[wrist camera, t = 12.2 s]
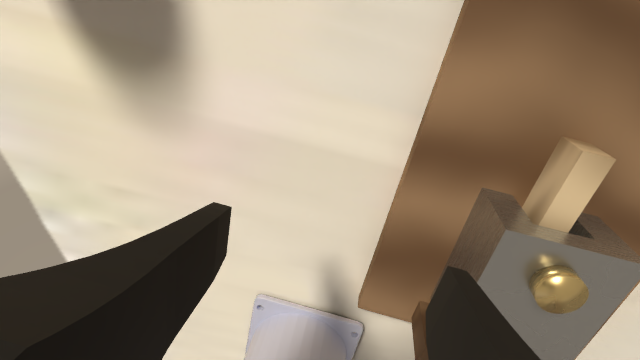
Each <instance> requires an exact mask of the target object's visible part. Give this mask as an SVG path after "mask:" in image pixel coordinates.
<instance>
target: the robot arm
mask: <svg viewBox="0 0 640 360" xmlns="http://www.w3.org/2000/svg"><path fill="white" fill-rule="evenodd" d="M231 208H232V207H230V206H226V205H222V204H219V203H215V202H213V203H211V204H209V205H207V206H205V207H203V208H201V209H199V210H197V211H195V212H193V213H192V214H190V215H188V216H186V217H184V218H182V219H180V220H178V221H176V222H173V223H171V224H169V225H167V226H165V227H163V228H161V229H159V230H156V231H154V232H152V233H150V234H147V235H145V236H143V237H140V238H138V239H136V240H134V241H131V242H129V243H126V244H123V245H121V246H118V247H115V248H112V249H109V250H107V251H104V252H101V253H98V254H95V255H92V256H88V257H85V258H81V259H78V260H74V261H70V262H67V263H63V264H60V265H56V266H53V267H48V268H44V269H41V270H36V271H31V272H27V273H23V274H18V275H12V276H7V277H3V278H0V360H162V358H163V356H164V355H165V353H166V351H167V349H168V348H169V346H170V345H171V343H172V341H173V340H174V338H175V337H176V335H177V334H178V332H179V331H180V329H181V328H182V327H183V325H184V324H185V322H186V321H187V319H188V318H189V316H190V315H191V313H192V312H193V310H194V309H195V307H196V306H197V305H198V303H199V302H200V300H201V299H202V297H203V296H204V294H205V293H206V291H207V290H208V288H209V287H210V285H211V284H212V282H213V281H214V279H215V277H216V275H217V273H218V271H219V269H220V267H221V265H222V263H223V261H224V259H225V257H226V253H227V244H228V235H229V226H230V217H231ZM259 305H261V306H263V307H261V306H259ZM353 332H356V333H353ZM362 333H363V324H362V323H361V322H358V321H355V320H352V319H348V318H345V317H341V316H337V315H334V314H330V313H327V312H323V311H320V310H316V309H313V308H309V307H306V306H302V305H299V304H295V303H292V302H288V301H284V300H281V299H277V298H274V297H270V296H267V295H263V294H259V295H257V296H256V298H255V301H254V307H253V312H252V318H251V324H250V330H249V336H248V342H247V347H246V353H245V358H244V360H352V358H353V356H354V353H355V351H356V348H357V345H358V343H359V340H360V338H361V335H362ZM426 344H427V351H428V358H429V360H541V359H540V358H539V357H538V356H537V355H536V354H535V353H534V351H533V350H532V349H531V348H530V347H529V346H528V345H527V344H526V342H525V341H524V340H523V339H522V338H521V337H520V336H519V334H518V333H517V332H516V331H515V330H514V328H513V327H512V326H511V325H510V324H509V322H508V321H507V320H506V319H505V318H504V316H503V315H502V314H501V313H500V311H499V310H498V309H497V308H496V306H495V305H494V304H493V303H492V301H491V300H490V299H489V297H488V296H487V295H486V294H485V292H484V291H483V290H482V289H481V287H480V286H479V285H478V284H477V282H476V281H475V280H474V279H473V277H472V276H471V275H470V274H469V273H468V272H467V271H465V270H462V269H458V268H454V267H451V266H447V268H446V270H445V272H444V274H443V276H442V279H441V281H440V283H439V285H438V287H437V289H436V291H435V293H434V295H433V297H432V299H431V301H430V303H429V305H428V307H427V309H426Z"/></svg>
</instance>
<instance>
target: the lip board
mask: <svg viewBox="0 0 640 360" xmlns="http://www.w3.org/2000/svg"><path fill="white" fill-rule="evenodd" d="M482 187H483V188H487V189H491V190H495V191H499V192H503V193H507V194H511V195H513V196H514V198H515V199H516V201H517V202H518V203H519V205H520V206H521V208H522V209H523V210H524V212H525V213H526V215H527V216H528V217H529V219H530V220H531V222H532V223H533V224H535V225H539V226H543V227H547V228H551V229H555V230H559V231H563V232H567V233H568V232H569V231H570V229H571V228H572V226H573V225H574V223H575V222H576V220H577V219H578V217H579V216H580V214H581V213H586V214H590V215H594V216H598V217H599V218H600V219H601V220H602V221H603V222H604V223H605V224H606V225H607V226H608V227H609V228H610V229H612V230H613V231H614V232H615V233H616V234H617V235H618V236H619V237H620V238H621V239H622V240H623V241H624V242H625V243H626V244H627V245H628V246H629V247H630V248H631V249H633V250H634V251H635V252H636V253H637V254H638V255H639V256H640V0H465V1H464V3H463V6H462V9H461V12H460V15H459V17H458V20H457V23H456V26H455V29H454V31H453V34H452V37H451V40H450V43H449V45H448V48H447V51H446V54H445V57H444V59H443V62H442V65H441V68H440V71H439V73H438V76H437V79H436V82H435V85H434V87H433V90H432V93H431V96H430V99H429V101H428V104H427V107H426V110H425V113H424V115H423V118H422V121H421V124H420V127H419V129H418V132H417V135H416V138H415V141H414V143H413V146H412V149H411V152H410V155H409V157H408V160H407V163H406V166H405V169H404V171H403V174H402V177H401V180H400V183H399V185H398V188H397V191H396V194H395V197H394V199H393V202H392V205H391V208H390V211H389V213H388V216H387V219H386V222H385V224H384V227H383V230H382V233H381V236H380V238H379V241H378V244H377V247H376V250H375V252H374V255H373V258H372V261H371V264H370V266H369V269H368V272H367V275H366V278H365V280H364V283H363V286H362V289H361V292H360V294H359V299H358V308H361V309H365V310H368V311H372V312H376V313H379V314H383V315H386V316H390V317H393V318H397V319H401V320H404V321H408V322H411V323H412V330H413V340H414V351H415V360H429V358H428V351H427V344H426V309H427V307H428V305H429V303H430V301H431V298H430V297H431V295H432V293H433V290H434V288H435V286H436V284H437V282H438V280H439V278H440V276H441V274H442V271H443V269H444V267H445V265H446V263H447V261H448V259H449V257H450V254H451V252H452V250H453V248H454V246H455V244H456V242H457V240H458V237H459V235H460V233H461V231H462V229H463V227H464V225H465V223H466V221H467V218H468V216H469V214H470V212H471V210H472V208H473V206H474V204H475V201H476V199H477V197H478V195H479V193H480V191H481V189H482ZM639 282H640V280H639V281H638V282H637V284H636V285H635V286H634V287H633V288H632V290H631V291H630V292H629V293H628V294H627V296H626V297H625V298H624V299H623V301H624V300H625V299H626V298H627V297H628V295H629V294H630V293H631V292H632V291H633V289H634V288H635V287H636V286H637V285H638V284H639ZM623 301H622V302H621V303H620V304H619V305H618V307H619V306H620V305H621V304H622V303H623ZM618 307H617V308H616V309H615V310H614V312H615V311H616V310H617V309H618ZM614 312H613V313H614ZM613 313H612V314H611V315H610V316H609V318H610V317H611V316H612V315H613ZM609 318H608V319H609ZM608 319H607V320H608ZM607 320H606V321H605V323H606V322H607ZM605 323H604V324H605ZM604 324H603V325H604ZM603 325H602V326H603ZM602 326H601V327H600V329H601V328H602ZM600 329H599V330H600ZM599 330H598V331H599ZM598 331H597V332H598ZM597 332H596V334H597ZM596 334H595V335H596ZM595 335H594V336H595ZM594 336H593V337H594ZM593 337H592V338H593ZM592 338H591V340H592ZM591 340H590V341H591ZM590 341H589V342H590ZM589 342H588V343H589ZM588 343H587V344H588ZM587 344H586V346H587ZM586 346H585V347H586ZM585 347H584V348H585ZM584 348H583V349H584ZM583 349H582V350H583ZM580 353H581V352H580ZM580 353H579V354H580ZM579 354H578V355H579ZM578 355H577V356H578ZM575 359H576V358H575ZM575 359H574V360H575Z"/></svg>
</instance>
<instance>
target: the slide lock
mask: <svg viewBox="0 0 640 360" xmlns="http://www.w3.org/2000/svg"><path fill="white" fill-rule="evenodd" d="M447 266H451V267H454V268H458V269H462V270H465V271H467V272H468V273H469V274H470V275H471V276H472V277H473V279H474V280H475V281H476V282H477V284H478V285H479V286H480V287H481V289H482V290H483V291H484V292H485V294H486V295H487V296H488V297H489V299H490V300H491V301H492V303H493V304H494V305H495V306H496V308H497V309H498V310H499V311H500V313H501V314H502V315H503V316H504V318H505V319H506V320H507V321H508V322H509V324H510V325H511V326H512V327H513V328H514V330H515V331H516V332H517V333H518V334H519V336H520V337H521V338H522V339H523V340H524V341H525V342H526V344H527V345H528V346H529V347H530V348H531V349H532V350H533V351H534V353H535V354H536V355H537V356H538V357H539V358H540V359H541V360H574V359H575V358H576V357H577V355H578V354H579V353H580V352H581V351H582V349H583V348H584V347H585V346H586V344H587V343H588V342H589V341H590V340H591V338H592V337H593V336H594V335H595V334H596V332H597V331H598V330H599V329H600V327H601V326H602V325H603V324H604V323H605V321H606V320H607V319H608V318H609V316H610V315H611V314H612V313H613V312H614V310H615V309H616V308H617V307H618V305H619V304H620V303H621V302H622V301H623V299H624V298H625V297H626V296H627V294H628V293H629V292H630V291H631V290H632V288H633V287H634V286H635V285H636V284H637V282H638V281H639V280H640V256H639V255H638V254H637V253H636V252H635V251H634V250H633V249H631V248H630V247H629V246H628V245H627V244H626V243H625V242H624V241H623V240H622V239H621V238H620V237H619V236H618V235H617V234H616V233H615V232H614V231H613V230H612V229H610V228H609V227H608V226H607V225H606V224H605V223H604V222H603V221H602V220H601V219H600V218H599V217H598V216H594V215H590V214H586V213H581V214H580V216H579V217H578V219H577V220H576V222H575V223H574V225H573V226H572V228H571V229H570V231H569V232H568V233H567V232H563V231H559V230H555V229H551V228H547V227H543V226H539V225H535V224H533V223H532V222H531V220H530V219H529V217H528V216H527V215H526V213H525V212H524V210H523V209H522V208H521V206H520V205H519V203H518V202H517V201H516V199H515V198H514V196H513V195H511V194H507V193H503V192H499V191H495V190H491V189H487V188H483V187H482V189H481V191H480V193H479V195H478V197H477V199H476V201H475V204H474V206H473V208H472V210H471V212H470V214H469V216H468V218H467V221H466V223H465V225H464V227H463V229H462V231H461V233H460V235H459V237H458V240H457V242H456V244H455V246H454V248H453V250H452V252H451V254H450V257H449V259H448V261H447V263H446V265H445V267H444V269H443V271H442V274H441V276H440V278H439V280H438V282H437V284H436V286H435V288H434V290H433V293H432V295H431V297H430V298H431V299H432V297H433V295H434V293H435V291H436V289H437V287H438V285H439V283H440V281H441V279H442V276H443V274H444V272H445V270H446V268H447Z"/></svg>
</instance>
